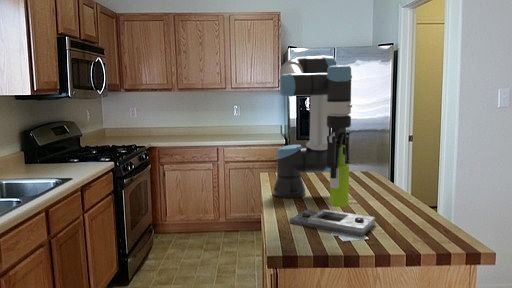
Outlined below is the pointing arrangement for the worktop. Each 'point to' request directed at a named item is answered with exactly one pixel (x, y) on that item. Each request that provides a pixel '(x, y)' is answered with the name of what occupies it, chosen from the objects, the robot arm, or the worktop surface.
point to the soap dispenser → (341, 183)
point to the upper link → (345, 222)
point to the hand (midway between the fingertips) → (338, 185)
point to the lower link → (303, 220)
